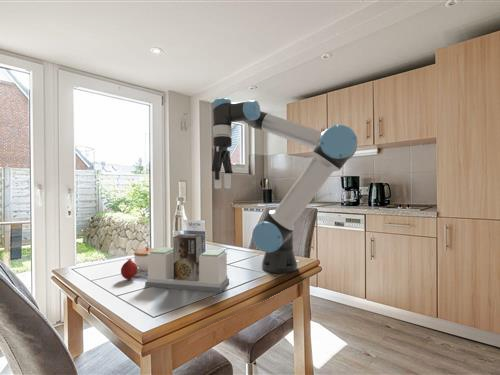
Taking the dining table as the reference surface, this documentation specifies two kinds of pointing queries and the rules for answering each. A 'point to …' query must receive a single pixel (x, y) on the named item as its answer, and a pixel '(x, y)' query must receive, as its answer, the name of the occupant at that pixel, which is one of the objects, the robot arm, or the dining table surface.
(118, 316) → the dining table surface
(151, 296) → the dining table surface
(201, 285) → the white slotted block
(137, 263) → the lidded jar
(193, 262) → the coffee box
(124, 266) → the onion
